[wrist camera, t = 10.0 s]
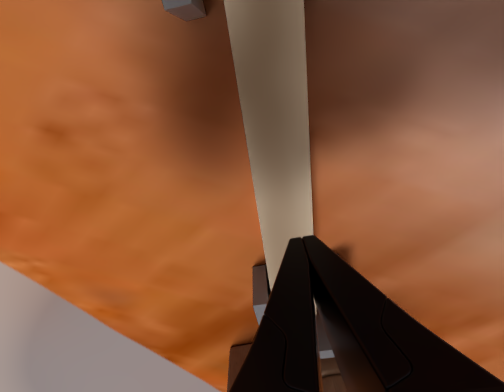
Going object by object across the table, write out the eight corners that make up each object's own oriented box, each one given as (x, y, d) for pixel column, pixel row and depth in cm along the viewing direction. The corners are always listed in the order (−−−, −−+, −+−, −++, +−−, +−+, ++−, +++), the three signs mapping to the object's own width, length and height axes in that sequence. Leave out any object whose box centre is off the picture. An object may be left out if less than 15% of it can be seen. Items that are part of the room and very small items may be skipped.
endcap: (267, 323, 23) (270, 364, 20) (252, 266, 20) (252, 305, 17) (341, 313, 23) (355, 354, 19) (338, 253, 19) (354, 291, 16)
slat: (286, -92, 11) (298, -140, 8) (308, 282, 21) (316, 314, 19) (215, -78, 11) (204, -120, 8) (272, 286, 21) (275, 318, 19)
